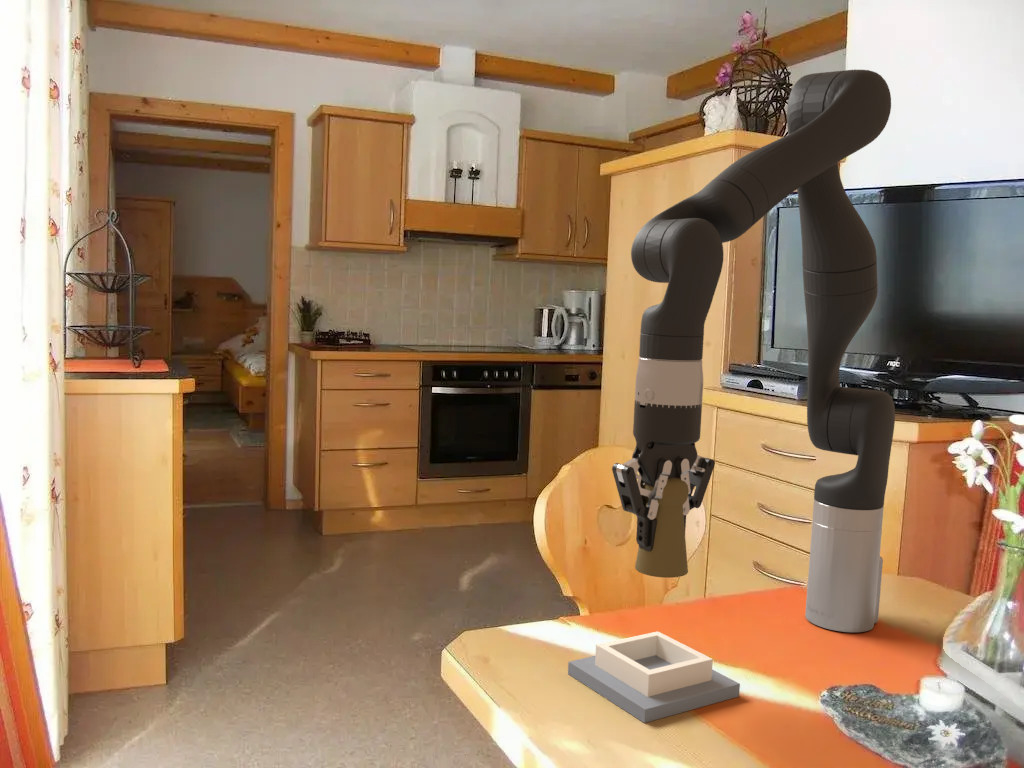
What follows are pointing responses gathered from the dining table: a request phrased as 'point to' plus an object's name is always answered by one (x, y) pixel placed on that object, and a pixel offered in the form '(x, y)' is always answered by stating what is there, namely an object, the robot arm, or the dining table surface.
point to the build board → (653, 676)
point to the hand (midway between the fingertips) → (660, 546)
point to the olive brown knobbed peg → (667, 534)
